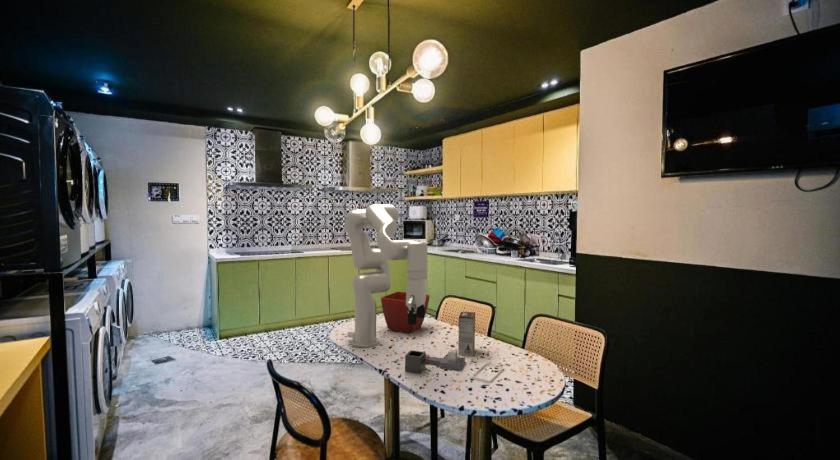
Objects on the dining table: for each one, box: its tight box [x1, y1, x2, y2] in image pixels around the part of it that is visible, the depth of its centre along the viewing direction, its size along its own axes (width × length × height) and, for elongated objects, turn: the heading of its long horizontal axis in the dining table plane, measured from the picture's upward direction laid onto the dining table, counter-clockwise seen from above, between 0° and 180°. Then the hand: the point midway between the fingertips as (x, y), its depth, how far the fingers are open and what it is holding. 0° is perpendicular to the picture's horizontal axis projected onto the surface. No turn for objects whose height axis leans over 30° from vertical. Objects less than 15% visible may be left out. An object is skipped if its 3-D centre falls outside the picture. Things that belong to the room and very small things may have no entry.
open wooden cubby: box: [404, 350, 427, 375], centre depth 146 cm, size 6×6×6 cm
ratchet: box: [426, 349, 466, 371], centre depth 153 cm, size 22×8×6 cm, turn 72°
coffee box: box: [457, 311, 476, 356], centre depth 166 cm, size 9×6×16 cm
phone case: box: [470, 362, 504, 384], centre depth 144 cm, size 7×1×15 cm
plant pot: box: [380, 291, 431, 334], centre depth 198 cm, size 19×19×17 cm
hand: (416, 320), depth 146 cm, fingers open, 9 cm apart
